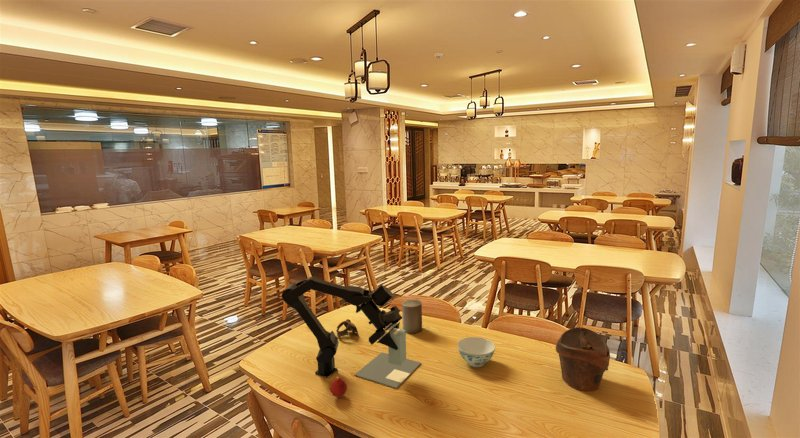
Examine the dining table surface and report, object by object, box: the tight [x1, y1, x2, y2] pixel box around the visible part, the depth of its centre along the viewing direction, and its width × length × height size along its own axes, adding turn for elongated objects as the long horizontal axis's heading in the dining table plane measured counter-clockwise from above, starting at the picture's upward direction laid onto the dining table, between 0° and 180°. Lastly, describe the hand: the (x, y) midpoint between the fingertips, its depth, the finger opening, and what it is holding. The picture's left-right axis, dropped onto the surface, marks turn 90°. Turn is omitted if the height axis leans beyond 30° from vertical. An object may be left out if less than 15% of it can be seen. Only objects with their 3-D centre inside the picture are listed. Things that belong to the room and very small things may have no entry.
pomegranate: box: [329, 376, 348, 399], centre depth 140 cm, size 6×6×8 cm
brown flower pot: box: [555, 327, 611, 392], centre depth 146 cm, size 18×20×18 cm
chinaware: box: [457, 336, 496, 368], centre depth 162 cm, size 15×15×8 cm
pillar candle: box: [401, 298, 423, 334], centre depth 194 cm, size 10×10×15 cm
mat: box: [354, 351, 422, 390], centre depth 159 cm, size 20×19×1 cm
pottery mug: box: [335, 318, 359, 338], centre depth 190 cm, size 12×10×8 cm
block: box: [387, 328, 407, 366], centre depth 151 cm, size 5×5×12 cm
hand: (400, 346), depth 151 cm, fingers closed on block, 5 cm apart
